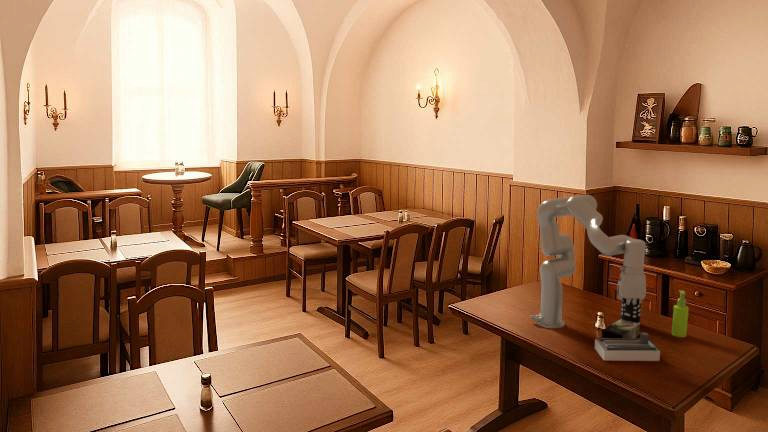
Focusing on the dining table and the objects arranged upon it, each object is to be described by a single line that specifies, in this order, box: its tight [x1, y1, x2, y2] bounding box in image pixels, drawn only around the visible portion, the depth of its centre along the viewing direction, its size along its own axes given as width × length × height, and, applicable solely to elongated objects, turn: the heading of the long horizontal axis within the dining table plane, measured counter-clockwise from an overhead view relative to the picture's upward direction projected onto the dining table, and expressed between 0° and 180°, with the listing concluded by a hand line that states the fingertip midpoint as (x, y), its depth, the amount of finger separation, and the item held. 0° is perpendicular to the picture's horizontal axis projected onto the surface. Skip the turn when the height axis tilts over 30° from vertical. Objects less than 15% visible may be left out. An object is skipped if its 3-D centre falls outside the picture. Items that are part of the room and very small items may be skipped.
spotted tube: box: [620, 298, 643, 325], centre depth 270 cm, size 8×8×20 cm
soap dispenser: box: [671, 289, 690, 338], centre depth 257 cm, size 6×7×20 cm
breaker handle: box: [639, 332, 650, 344], centre depth 237 cm, size 2×2×5 cm
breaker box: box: [594, 337, 661, 362], centre depth 238 cm, size 22×12×5 cm, turn 87°
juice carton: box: [601, 319, 641, 338], centre depth 256 cm, size 20×10×6 cm, turn 136°
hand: (628, 312), depth 236 cm, fingers closed
